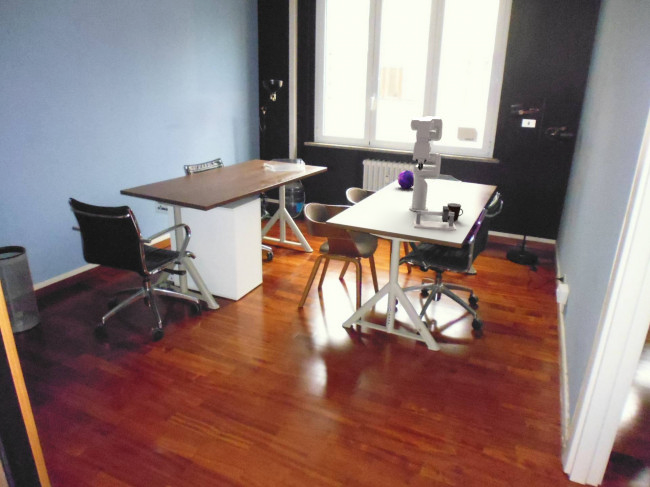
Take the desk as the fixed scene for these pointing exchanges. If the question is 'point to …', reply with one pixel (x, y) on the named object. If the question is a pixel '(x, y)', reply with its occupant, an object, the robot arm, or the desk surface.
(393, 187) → the desk surface
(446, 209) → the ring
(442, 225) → the rail fixture
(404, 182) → the decorative orb
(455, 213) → the coffee mug
